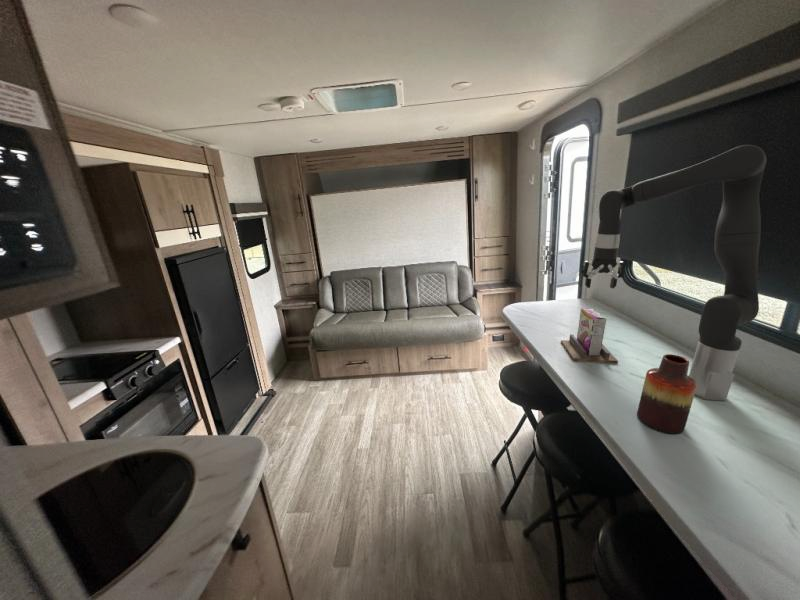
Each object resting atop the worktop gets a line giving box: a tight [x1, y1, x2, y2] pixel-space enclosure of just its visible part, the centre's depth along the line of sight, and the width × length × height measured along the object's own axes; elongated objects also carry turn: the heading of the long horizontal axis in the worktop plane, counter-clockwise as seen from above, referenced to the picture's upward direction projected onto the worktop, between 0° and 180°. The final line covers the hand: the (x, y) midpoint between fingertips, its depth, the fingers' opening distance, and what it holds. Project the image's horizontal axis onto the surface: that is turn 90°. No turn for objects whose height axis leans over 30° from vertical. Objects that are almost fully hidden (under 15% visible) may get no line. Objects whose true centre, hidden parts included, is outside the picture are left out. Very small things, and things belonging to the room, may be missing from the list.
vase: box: [636, 353, 697, 435], centre depth 89 cm, size 11×11×20 cm
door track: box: [560, 333, 619, 365], centre depth 132 cm, size 16×17×4 cm
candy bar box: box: [576, 308, 607, 356], centre depth 130 cm, size 11×5×16 cm, turn 176°
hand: (599, 287), depth 124 cm, fingers open, 8 cm apart
